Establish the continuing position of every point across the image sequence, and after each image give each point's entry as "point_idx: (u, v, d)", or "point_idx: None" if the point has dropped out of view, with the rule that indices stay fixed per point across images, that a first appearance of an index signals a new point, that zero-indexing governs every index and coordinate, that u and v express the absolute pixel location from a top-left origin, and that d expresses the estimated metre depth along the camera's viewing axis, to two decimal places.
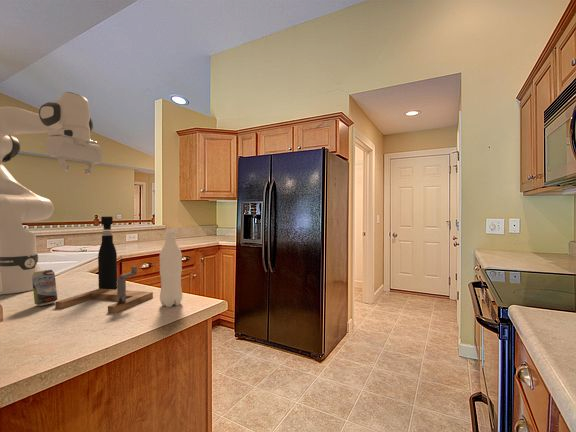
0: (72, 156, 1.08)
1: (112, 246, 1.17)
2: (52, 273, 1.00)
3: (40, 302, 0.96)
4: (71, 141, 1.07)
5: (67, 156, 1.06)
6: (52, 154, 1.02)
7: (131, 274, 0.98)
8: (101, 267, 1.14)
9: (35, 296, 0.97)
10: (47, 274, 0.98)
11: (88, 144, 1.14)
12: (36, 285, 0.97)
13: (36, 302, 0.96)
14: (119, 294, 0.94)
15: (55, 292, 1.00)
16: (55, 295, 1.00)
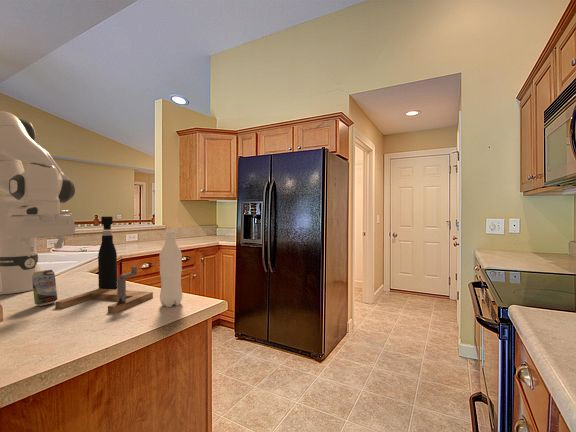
0: (38, 235, 0.96)
1: (112, 246, 1.17)
2: (52, 273, 1.00)
3: (40, 302, 0.96)
4: (36, 219, 0.95)
5: (31, 236, 0.94)
6: (13, 238, 0.90)
7: (131, 274, 0.98)
8: (101, 267, 1.14)
9: (35, 296, 0.97)
10: (47, 274, 0.98)
11: (58, 216, 1.02)
12: (36, 285, 0.97)
13: (36, 302, 0.96)
14: (119, 294, 0.94)
15: (55, 292, 1.00)
16: (55, 295, 1.00)
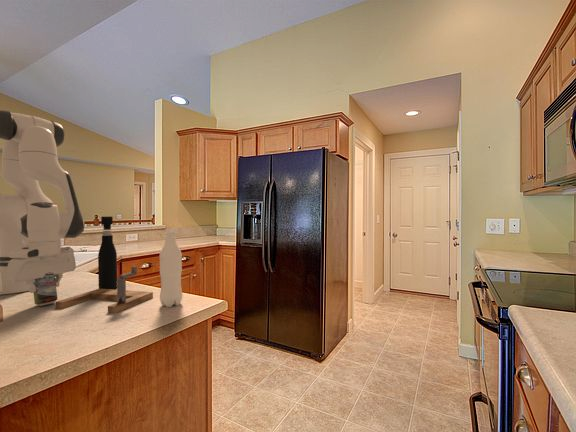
0: (38, 276, 0.96)
1: (112, 246, 1.17)
2: (52, 273, 1.00)
3: (40, 302, 0.96)
4: (37, 260, 0.95)
5: (32, 278, 0.94)
6: (14, 281, 0.90)
7: (131, 274, 0.98)
8: (101, 267, 1.14)
9: (35, 296, 0.97)
10: (47, 274, 0.98)
11: (58, 255, 1.02)
12: (36, 285, 0.96)
13: (36, 302, 0.96)
14: (119, 294, 0.94)
15: (55, 292, 1.00)
16: (55, 295, 1.00)
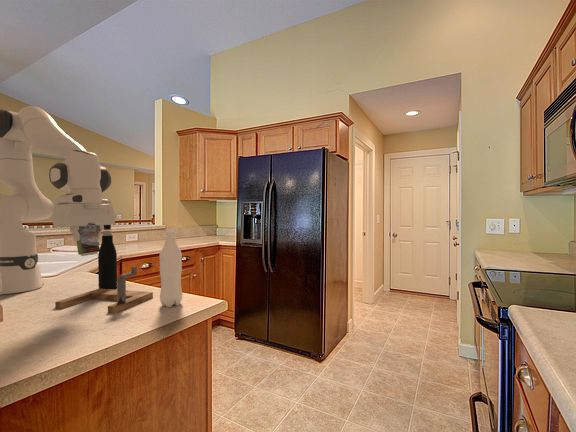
0: (82, 223, 0.94)
1: (112, 246, 1.17)
2: (94, 223, 0.98)
3: (84, 251, 0.94)
4: (81, 207, 0.93)
5: (76, 225, 0.92)
6: (59, 226, 0.88)
7: (131, 274, 0.98)
8: (101, 267, 1.14)
9: (79, 245, 0.94)
10: (90, 224, 0.96)
11: (99, 205, 1.00)
12: None
13: (80, 252, 0.94)
14: (119, 294, 0.94)
15: (98, 243, 0.98)
16: (98, 246, 0.97)
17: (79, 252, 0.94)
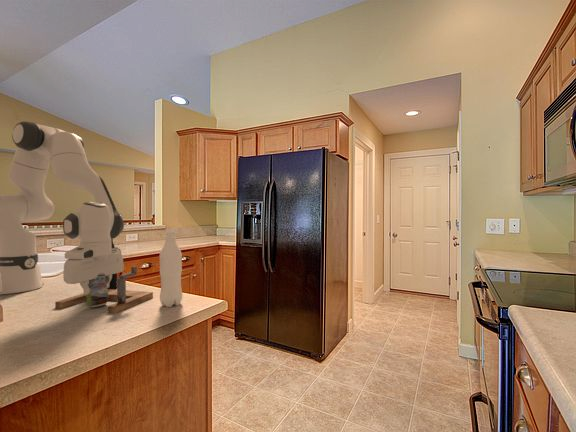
0: (92, 277, 0.94)
1: (112, 246, 1.17)
2: (104, 274, 0.98)
3: (94, 304, 0.94)
4: (91, 261, 0.93)
5: (87, 279, 0.92)
6: (70, 283, 0.88)
7: (131, 274, 0.98)
8: None
9: (88, 297, 0.95)
10: (100, 275, 0.96)
11: (109, 255, 1.00)
12: (90, 287, 0.95)
13: (89, 304, 0.95)
14: (119, 294, 0.94)
15: (107, 293, 0.98)
16: (107, 296, 0.98)
17: (88, 304, 0.95)
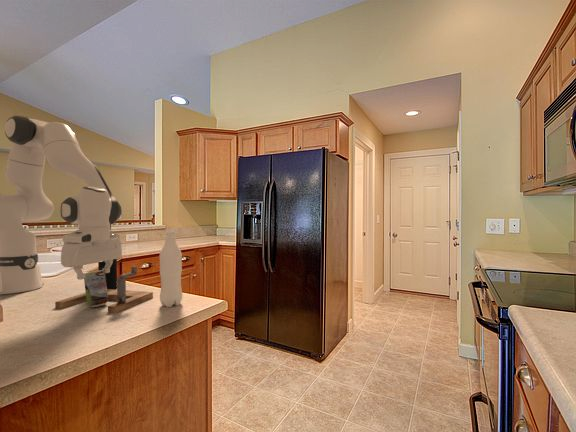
0: (90, 261, 0.94)
1: None
2: (104, 274, 0.98)
3: (93, 304, 0.94)
4: (89, 245, 0.93)
5: (84, 263, 0.92)
6: (68, 266, 0.88)
7: (131, 274, 0.98)
8: (101, 267, 1.15)
9: (88, 297, 0.95)
10: (99, 275, 0.96)
11: (107, 241, 1.00)
12: (89, 287, 0.95)
13: (89, 304, 0.95)
14: (119, 294, 0.94)
15: (106, 293, 0.98)
16: (107, 296, 0.98)
17: (88, 304, 0.95)
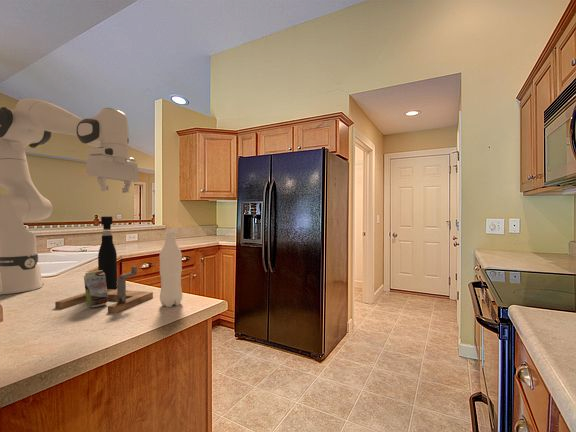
0: (112, 176, 1.02)
1: (112, 246, 1.17)
2: (104, 274, 0.98)
3: (93, 304, 0.94)
4: (111, 160, 1.01)
5: (107, 176, 1.00)
6: (93, 175, 0.96)
7: (131, 274, 0.98)
8: (101, 267, 1.14)
9: (88, 297, 0.95)
10: (99, 275, 0.96)
11: (126, 162, 1.08)
12: (89, 287, 0.95)
13: (89, 304, 0.95)
14: (119, 294, 0.94)
15: (106, 293, 0.98)
16: (107, 296, 0.98)
17: (88, 304, 0.95)
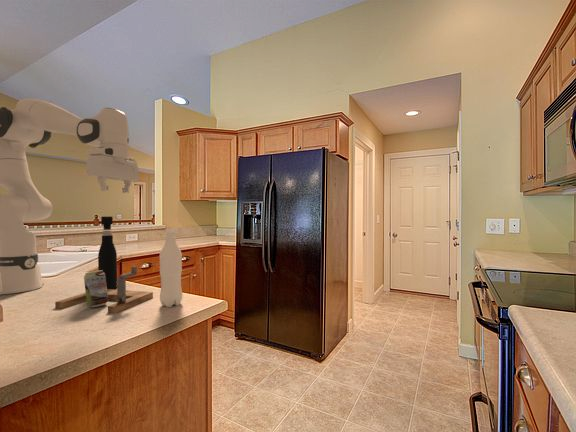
0: (112, 175, 1.02)
1: (112, 246, 1.17)
2: (104, 274, 0.98)
3: (93, 304, 0.94)
4: (111, 160, 1.01)
5: (107, 176, 1.00)
6: (93, 174, 0.96)
7: (131, 274, 0.98)
8: (101, 267, 1.14)
9: (88, 297, 0.95)
10: (99, 275, 0.96)
11: (126, 162, 1.08)
12: (89, 287, 0.95)
13: (89, 304, 0.95)
14: (119, 294, 0.94)
15: (106, 293, 0.98)
16: (107, 296, 0.98)
17: (88, 304, 0.95)
